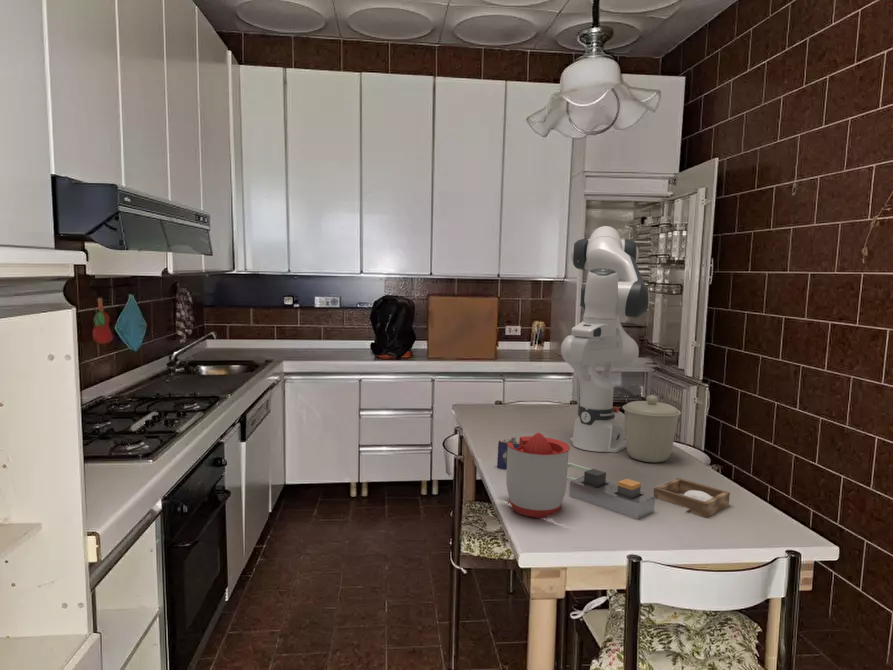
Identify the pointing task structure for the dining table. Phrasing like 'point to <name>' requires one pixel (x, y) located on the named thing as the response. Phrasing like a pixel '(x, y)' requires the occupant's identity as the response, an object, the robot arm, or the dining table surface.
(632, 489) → the plug
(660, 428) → the canister
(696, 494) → the garlic
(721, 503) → the garlic corral
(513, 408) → the dining table surface
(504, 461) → the blue box
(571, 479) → the tray
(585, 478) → the twin plug
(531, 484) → the citrus juicer
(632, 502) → the grey socket block
